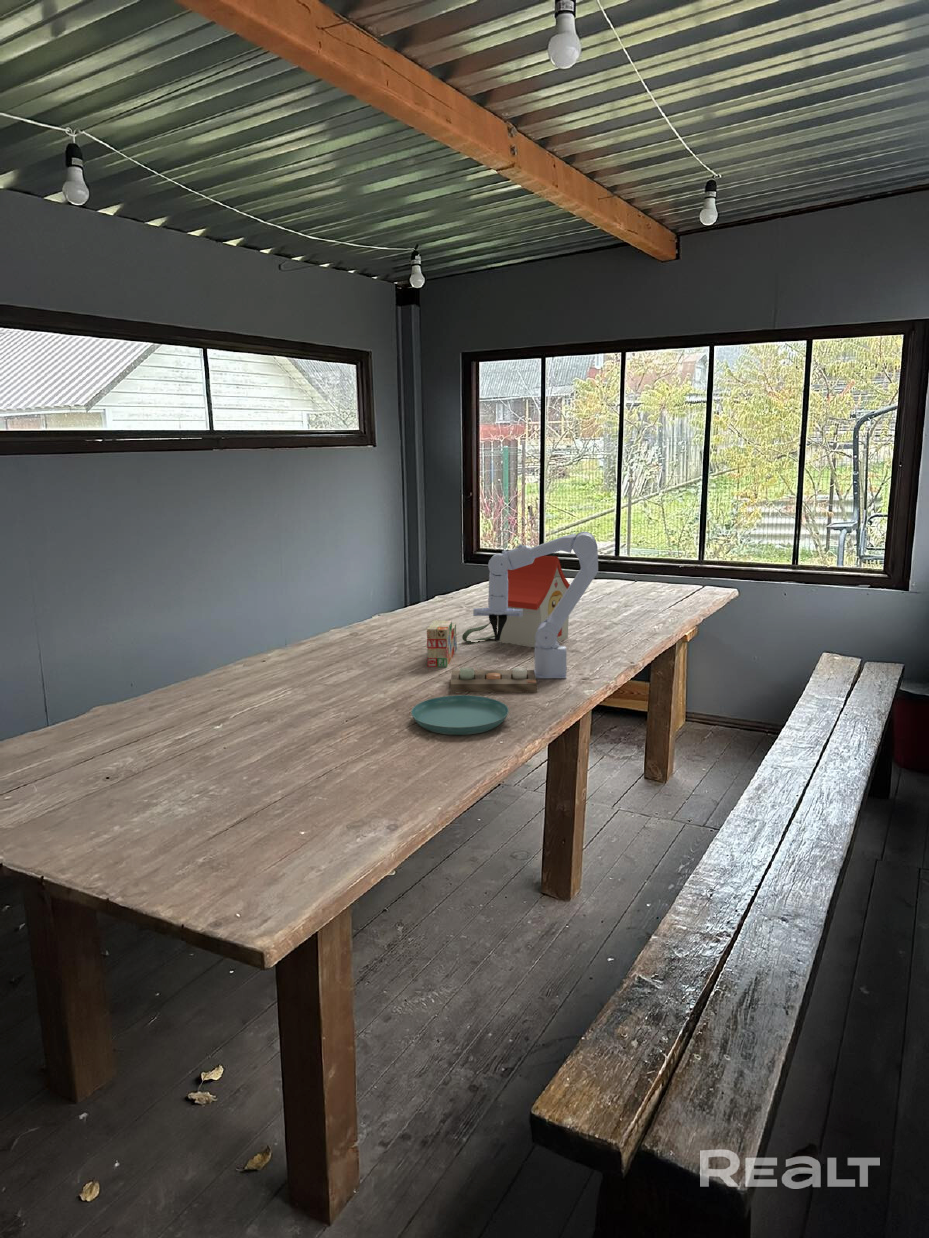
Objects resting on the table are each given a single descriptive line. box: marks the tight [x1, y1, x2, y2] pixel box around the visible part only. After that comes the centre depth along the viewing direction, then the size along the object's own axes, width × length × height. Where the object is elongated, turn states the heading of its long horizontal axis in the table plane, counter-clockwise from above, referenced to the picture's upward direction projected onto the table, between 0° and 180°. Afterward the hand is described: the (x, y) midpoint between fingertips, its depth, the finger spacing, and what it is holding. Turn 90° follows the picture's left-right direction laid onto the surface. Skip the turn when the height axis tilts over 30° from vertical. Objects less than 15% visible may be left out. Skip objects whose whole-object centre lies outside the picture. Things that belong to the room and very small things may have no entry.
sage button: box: [459, 667, 475, 679], centre depth 240 cm, size 4×4×3 cm
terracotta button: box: [486, 673, 500, 679], centre depth 240 cm, size 4×4×3 cm
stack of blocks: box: [426, 620, 458, 668], centre depth 269 cm, size 21×6×12 cm, turn 172°
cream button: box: [512, 666, 528, 679], centre depth 239 cm, size 4×4×3 cm
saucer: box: [410, 694, 509, 736], centre depth 210 cm, size 24×24×3 cm
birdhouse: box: [461, 555, 571, 648], centre depth 293 cm, size 36×30×30 cm
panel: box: [450, 669, 538, 693], centre depth 240 cm, size 24×14×3 cm, turn 89°
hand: (497, 639), depth 250 cm, fingers closed
